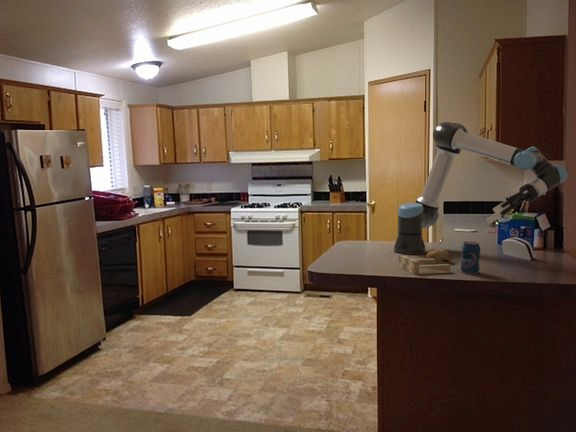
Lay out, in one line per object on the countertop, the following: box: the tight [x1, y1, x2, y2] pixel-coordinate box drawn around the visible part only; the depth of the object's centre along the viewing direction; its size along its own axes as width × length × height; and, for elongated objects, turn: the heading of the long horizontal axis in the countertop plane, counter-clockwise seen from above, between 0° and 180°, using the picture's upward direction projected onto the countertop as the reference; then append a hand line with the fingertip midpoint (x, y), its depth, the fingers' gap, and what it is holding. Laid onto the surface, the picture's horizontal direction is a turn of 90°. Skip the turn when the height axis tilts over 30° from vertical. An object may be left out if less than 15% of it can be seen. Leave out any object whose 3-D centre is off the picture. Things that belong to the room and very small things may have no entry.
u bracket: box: [398, 254, 451, 275], centre depth 204 cm, size 14×16×5 cm
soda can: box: [460, 241, 481, 275], centre depth 198 cm, size 7×7×12 cm
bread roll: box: [425, 247, 452, 265], centre depth 220 cm, size 10×10×8 cm
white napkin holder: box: [501, 237, 539, 261], centre depth 231 cm, size 17×5×10 cm, turn 16°
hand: (490, 216), depth 212 cm, fingers open, 13 cm apart
